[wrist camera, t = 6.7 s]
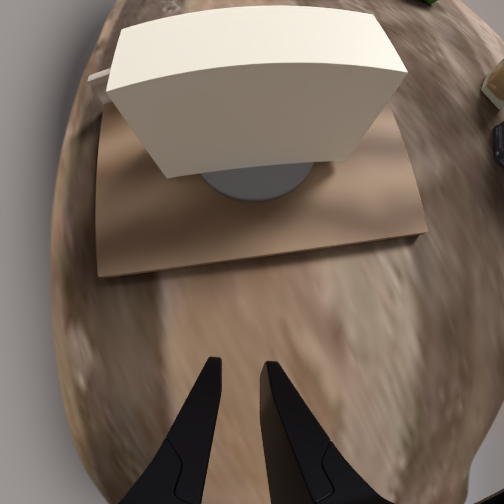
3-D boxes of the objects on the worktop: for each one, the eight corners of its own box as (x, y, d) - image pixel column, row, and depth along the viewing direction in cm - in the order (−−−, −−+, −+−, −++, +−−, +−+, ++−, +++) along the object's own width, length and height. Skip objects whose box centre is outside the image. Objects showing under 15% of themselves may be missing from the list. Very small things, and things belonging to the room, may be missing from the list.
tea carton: (349, 194, 22) (426, 113, 10) (171, 213, 22) (98, 137, 10) (323, 94, 23) (358, -6, 11) (169, 108, 23) (128, 8, 11)
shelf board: (419, 234, 23) (455, 221, 18) (106, 277, 22) (71, 273, 17) (368, 76, 25) (384, 44, 20) (110, 105, 25) (89, 74, 19)
